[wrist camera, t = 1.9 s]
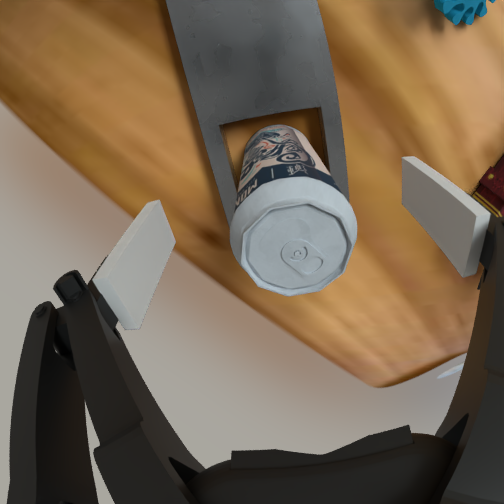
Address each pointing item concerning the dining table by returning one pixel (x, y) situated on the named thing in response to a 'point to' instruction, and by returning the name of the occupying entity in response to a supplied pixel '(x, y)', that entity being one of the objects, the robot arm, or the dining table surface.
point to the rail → (256, 74)
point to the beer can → (290, 215)
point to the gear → (462, 9)
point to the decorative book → (492, 189)
